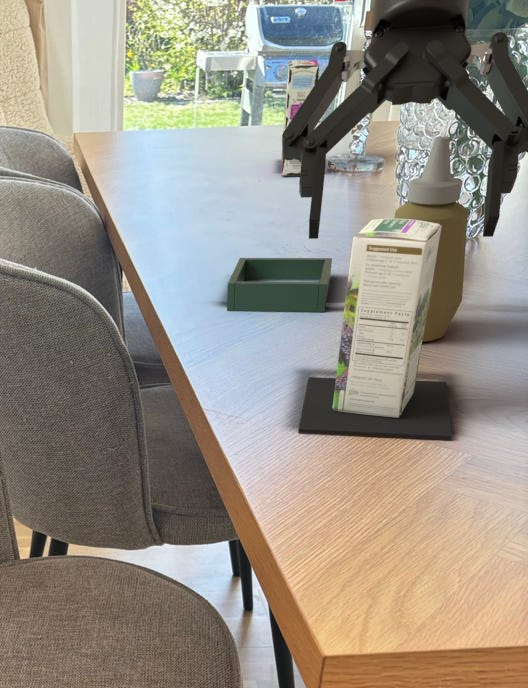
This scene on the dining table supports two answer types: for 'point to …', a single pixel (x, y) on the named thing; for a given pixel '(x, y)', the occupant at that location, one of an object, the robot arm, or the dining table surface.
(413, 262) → the syrup box
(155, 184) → the dining table surface
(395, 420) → the mat
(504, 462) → the dining table surface
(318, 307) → the tray
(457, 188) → the squeeze bottle
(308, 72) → the candy bar box
